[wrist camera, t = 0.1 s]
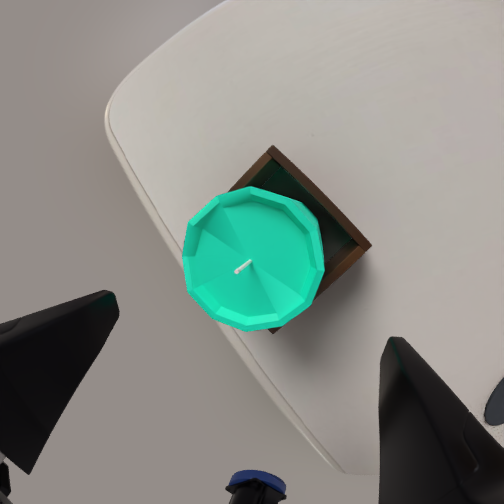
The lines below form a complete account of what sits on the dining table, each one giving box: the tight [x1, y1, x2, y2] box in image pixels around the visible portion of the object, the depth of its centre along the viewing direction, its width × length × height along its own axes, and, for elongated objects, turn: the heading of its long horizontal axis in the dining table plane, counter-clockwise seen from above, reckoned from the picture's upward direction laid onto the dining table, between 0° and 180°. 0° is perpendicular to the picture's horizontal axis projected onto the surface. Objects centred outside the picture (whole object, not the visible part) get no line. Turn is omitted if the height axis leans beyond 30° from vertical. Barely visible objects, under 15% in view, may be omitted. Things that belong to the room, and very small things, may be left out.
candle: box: [182, 186, 325, 332], centre depth 15 cm, size 6×6×12 cm
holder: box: [184, 145, 372, 334], centre depth 19 cm, size 9×9×4 cm
